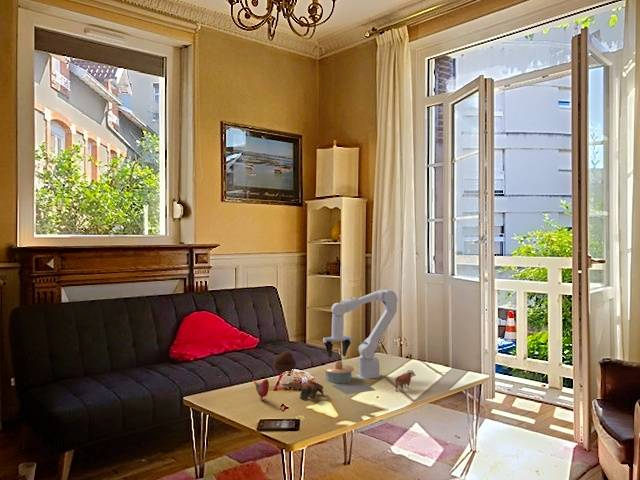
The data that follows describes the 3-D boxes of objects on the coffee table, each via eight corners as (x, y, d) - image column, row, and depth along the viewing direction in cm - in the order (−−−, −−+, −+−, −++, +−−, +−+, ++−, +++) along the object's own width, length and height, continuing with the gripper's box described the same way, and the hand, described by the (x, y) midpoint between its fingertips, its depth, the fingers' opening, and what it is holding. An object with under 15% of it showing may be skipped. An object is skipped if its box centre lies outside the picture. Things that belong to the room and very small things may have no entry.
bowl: (344, 375, 270) (344, 365, 270) (355, 381, 259) (355, 371, 259) (321, 378, 265) (321, 368, 265) (332, 384, 254) (332, 374, 254)
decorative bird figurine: (265, 405, 224) (265, 381, 224) (249, 394, 240) (249, 371, 239) (271, 404, 225) (271, 380, 225) (256, 393, 241) (256, 370, 241)
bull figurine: (417, 387, 250) (417, 369, 250) (400, 394, 240) (400, 375, 240) (409, 385, 253) (409, 367, 253) (391, 392, 243) (391, 373, 243)
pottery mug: (296, 396, 238) (303, 378, 240) (315, 405, 239) (323, 387, 241) (302, 397, 226) (309, 378, 229) (322, 407, 228) (330, 387, 230)
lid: (345, 366, 271) (345, 357, 271) (358, 373, 258) (358, 363, 258) (319, 369, 265) (319, 360, 265) (331, 377, 252) (331, 366, 252)
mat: (360, 382, 258) (360, 381, 258) (376, 390, 245) (376, 390, 245) (331, 386, 252) (331, 385, 252) (346, 395, 238) (346, 394, 238)
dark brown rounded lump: (297, 380, 262) (297, 348, 262) (294, 386, 251) (294, 353, 251) (275, 379, 263) (275, 348, 263) (271, 386, 252) (271, 353, 252)
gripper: (327, 330, 259) (327, 359, 259) (354, 328, 265) (354, 357, 265) (321, 327, 265) (320, 356, 265) (347, 326, 271) (347, 353, 272)
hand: (336, 356), depth 266 cm, fingers open, 7 cm apart
